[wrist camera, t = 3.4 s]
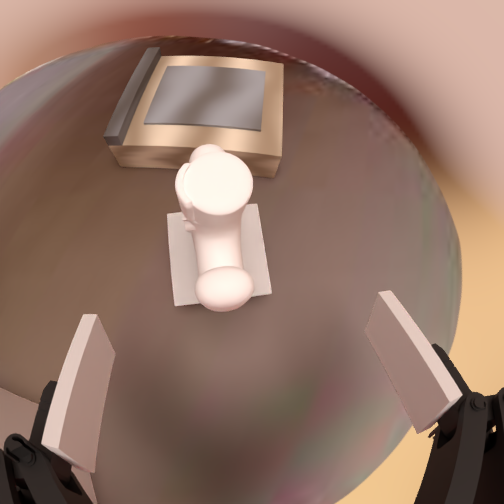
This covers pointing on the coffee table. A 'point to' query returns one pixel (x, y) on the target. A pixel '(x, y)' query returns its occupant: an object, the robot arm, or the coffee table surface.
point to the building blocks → (30, 429)
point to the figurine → (216, 234)
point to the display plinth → (199, 112)
